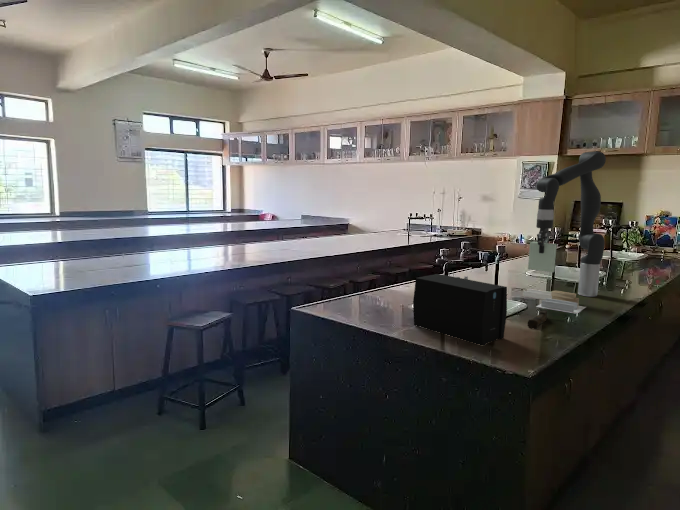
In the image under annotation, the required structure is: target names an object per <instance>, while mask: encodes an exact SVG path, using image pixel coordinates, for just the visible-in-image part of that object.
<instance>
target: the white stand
mask: <svg viewBox="0 0 680 510" xmlns="http://www.w3.org/2000/svg"><path fill="white" fill-rule="evenodd" d="M551 292H552V291H547V290H539V289H532V288H527V289H526V290H522V297H524V298H528V299H529V298H530V299H535V300H541V301H542V300H545V301H546V298H550V299H552V296H551Z"/></svg>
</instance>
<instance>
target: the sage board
mask: <svg viewBox="0 0 680 510" xmlns="http://www.w3.org/2000/svg"><path fill="white" fill-rule="evenodd" d="M557 246H558V245H557V243H550V242H549V243H545V245H544V253H539V245H538V241H530V242H529V252H528V265H527V270H529V271H538V272H547V273H555V270H556V269H555V267H556V257H557V256H556V255H557Z"/></svg>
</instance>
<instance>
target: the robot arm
mask: <svg viewBox="0 0 680 510" xmlns="http://www.w3.org/2000/svg"><path fill="white" fill-rule="evenodd" d="M606 161H607V158H606V155H605V153H604V152H602V151H586V152H583V153H581V154H580V156H579V159H578V163H575V164H573V165H570V166H567V167H565V168H562V169H560V170H558V171H556V172H555V173H552V174H549V175H546V176H544V177H542V178H540V179H539V180H538V181H537V183H536V185H535V187H536V189H537V191H538V192H539V193H540V192H541V193H545V194H544V196H543V197H540V198H539V199H538V205H537V206H538V209H537V213H536V216H537V217H536V228H537V229H539V232H538V233H537V234H536V239H537V240H536V242H538V245H539V253H544V245H545V243H550V238H551V232H550V231H549V229H551V230H552V229H553V228H554V217H555V216H554V215H555V214H554V213H555V211H554V207H555V201H556V198H557V195H558V192H559V189H560V186H561V187H562V186H563V185H565V184H567V183H569V182H571V181H573V180H574V179H577V178H578V177H579V179H580V228H579V237H578V238H579V239H578V240H579V241H578V243H579V246H580V248H582V249H583V250H587V254H586V255H584V256H581V258H580V266H579V267H580V268H579V275H578V276H579V279H578V287H577V288H578V289H577V294H578V295H579V296H584V297H590V298H591V297H598V290H599V280H600V272H601V262H602V260H603V256H604V252H605V251H604V250H605V245H606V244H605V242H606V241H605V238H604V236H603V235H602V234H600V233H596V232H595V233H594V225H595V220H596V219H597V218H598V217H597V216H598V214H599V213H600V210H601V205H602V204H601V203H602V197H601V196H602V195H601V192H600V191H599V188H598V187H597V185H596V183H595V182H594V179H593V171H596V170H600V169H602V168H603V167H604V166H605V164H606Z"/></svg>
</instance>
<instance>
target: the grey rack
mask: <svg viewBox="0 0 680 510" xmlns="http://www.w3.org/2000/svg"><path fill="white" fill-rule="evenodd" d="M535 307H536V308H541V309H545V310H547V309H548V310H553V311H560V312H564V313H571V314H575V315H576V314H579V313H581V312H582V311H583V310H584V309H586V308H587V306H582V305H579V306H578V303H575V302H569V301H563V300H556V299H550V298H546V300H541V303H540V304H538V305H536V306H535Z"/></svg>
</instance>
